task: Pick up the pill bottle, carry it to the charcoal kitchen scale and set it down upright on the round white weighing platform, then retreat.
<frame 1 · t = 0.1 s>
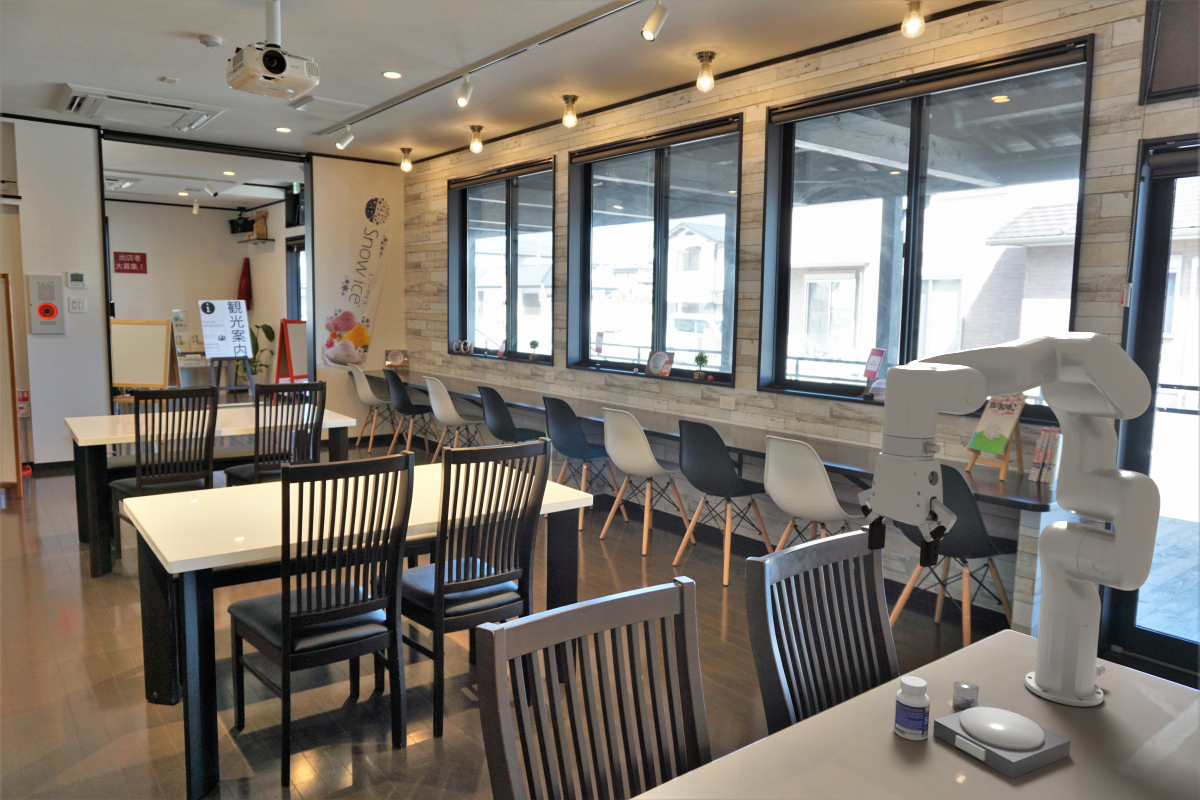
hand: (901, 557, 123), 31 cm above the table, fingers open, 9 cm apart
scale: (999, 744, 127), on the table
pill bottle: (910, 734, 131), on the table
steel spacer: (964, 707, 140), on the table
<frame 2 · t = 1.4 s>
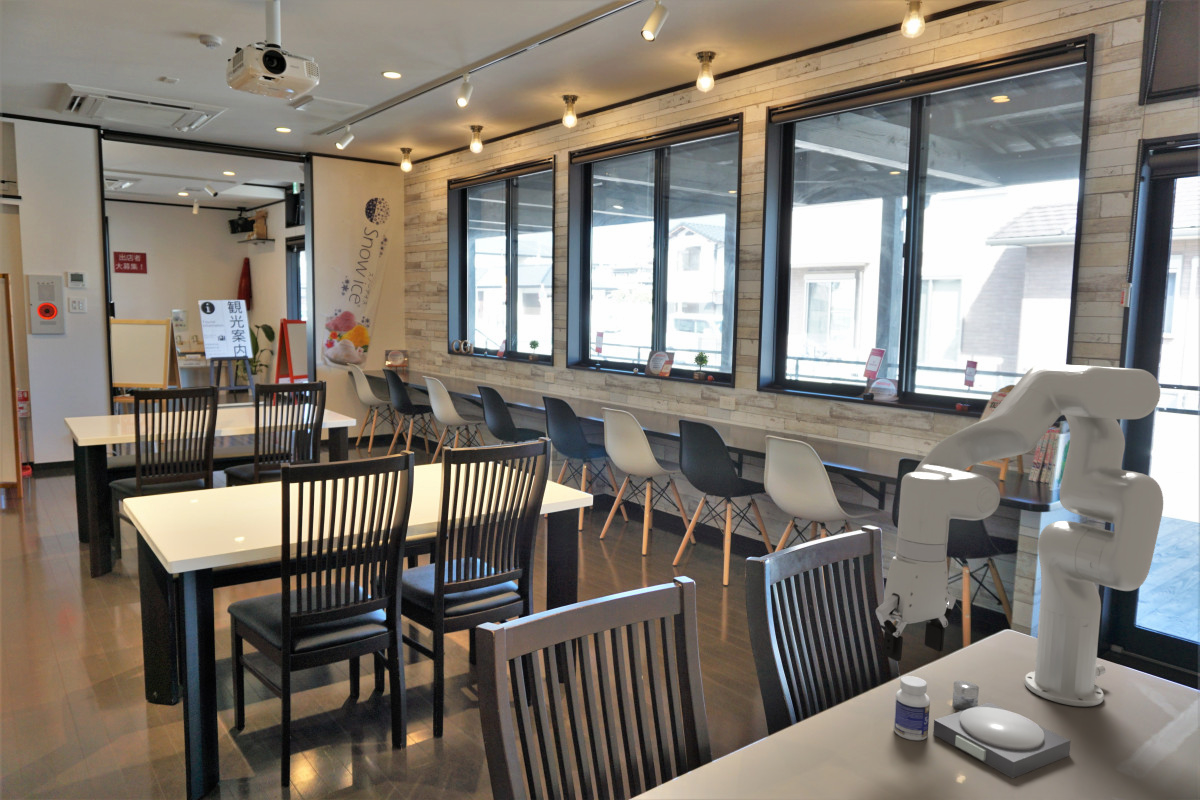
hand: (913, 653, 129), 14 cm above the table, fingers open, 9 cm apart
nothing on the table moved.
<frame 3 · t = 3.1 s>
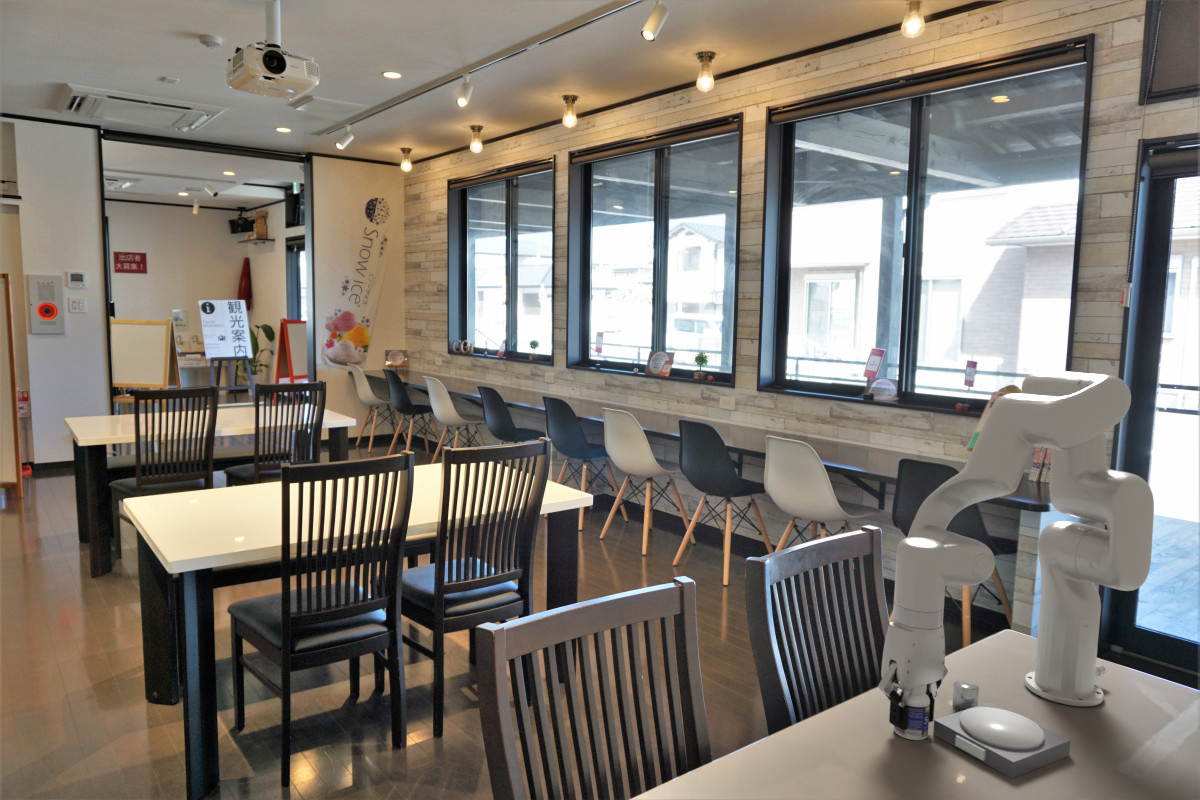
hand: (911, 721, 130), 2 cm above the table, fingers closed on pill bottle, 5 cm apart
pill bottle: (910, 734, 131), on the table, touching gripper
everything else where it was.
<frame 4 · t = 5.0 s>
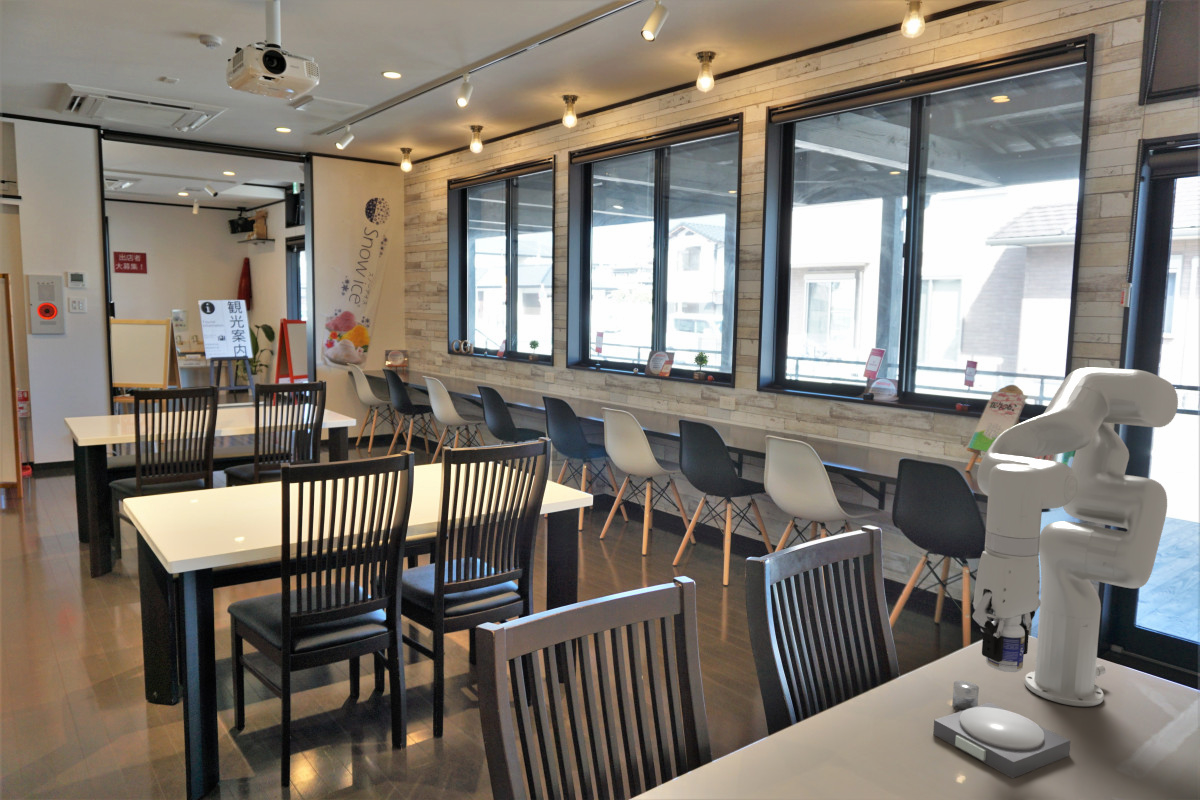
hand: (1004, 653, 126), 15 cm above the table, fingers closed on pill bottle, 5 cm apart
pill bottle: (1003, 666, 127), point 13 cm above the table, touching gripper
everything else where it was.
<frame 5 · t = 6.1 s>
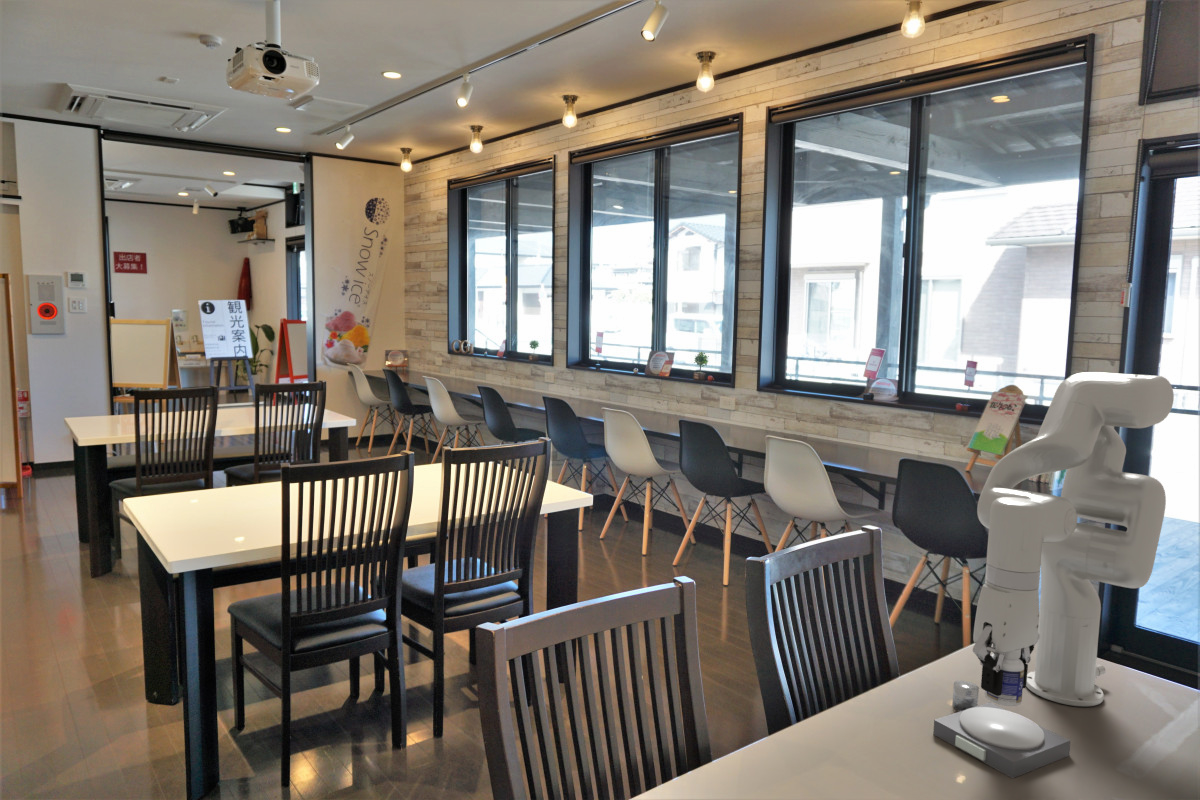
hand: (1003, 687, 126), 10 cm above the table, fingers closed on pill bottle, 5 cm apart
pill bottle: (1002, 700, 127), point 7 cm above the table, touching gripper
everything else where it was.
when the fingers open (6 cm above the table, at t = 7.1 s): pill bottle drops 1 cm, resting on scale.
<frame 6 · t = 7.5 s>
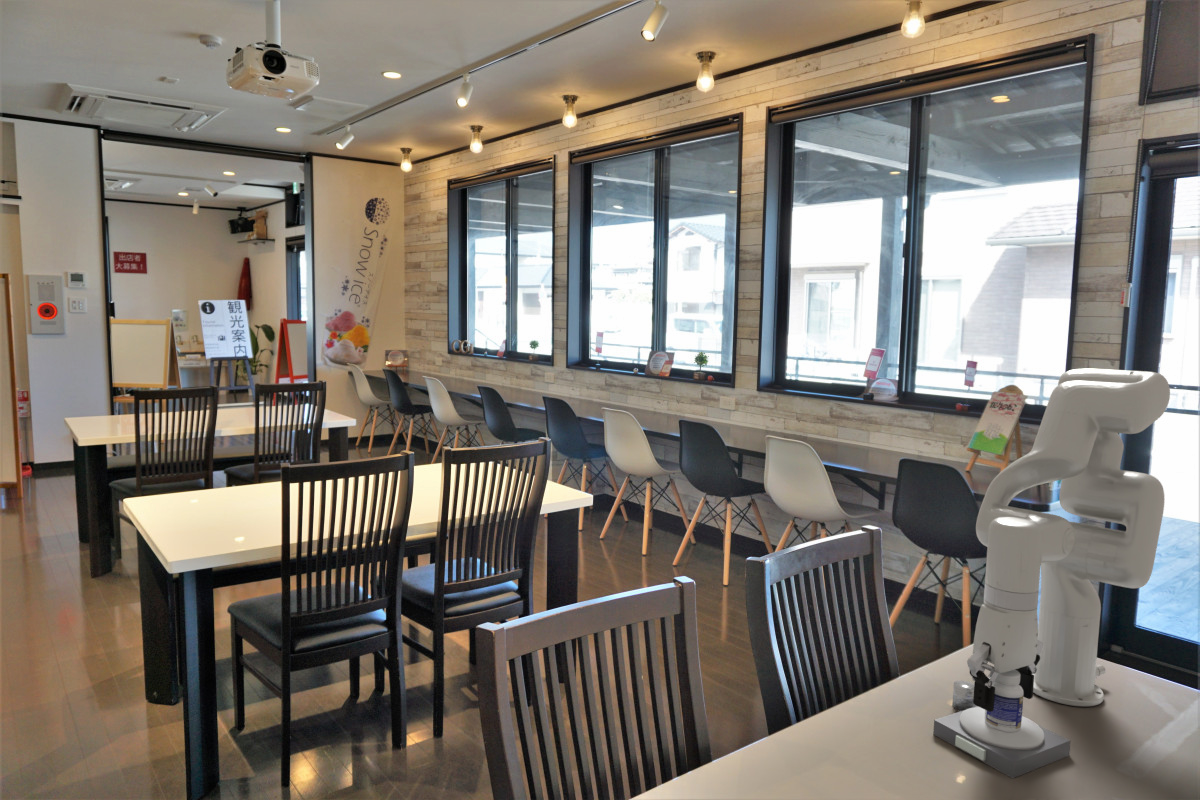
hand: (1002, 701, 127), 7 cm above the table, fingers open, 9 cm apart
pill bottle: (1002, 725, 127), point 3 cm above the table, touching scale
everything else where it was.
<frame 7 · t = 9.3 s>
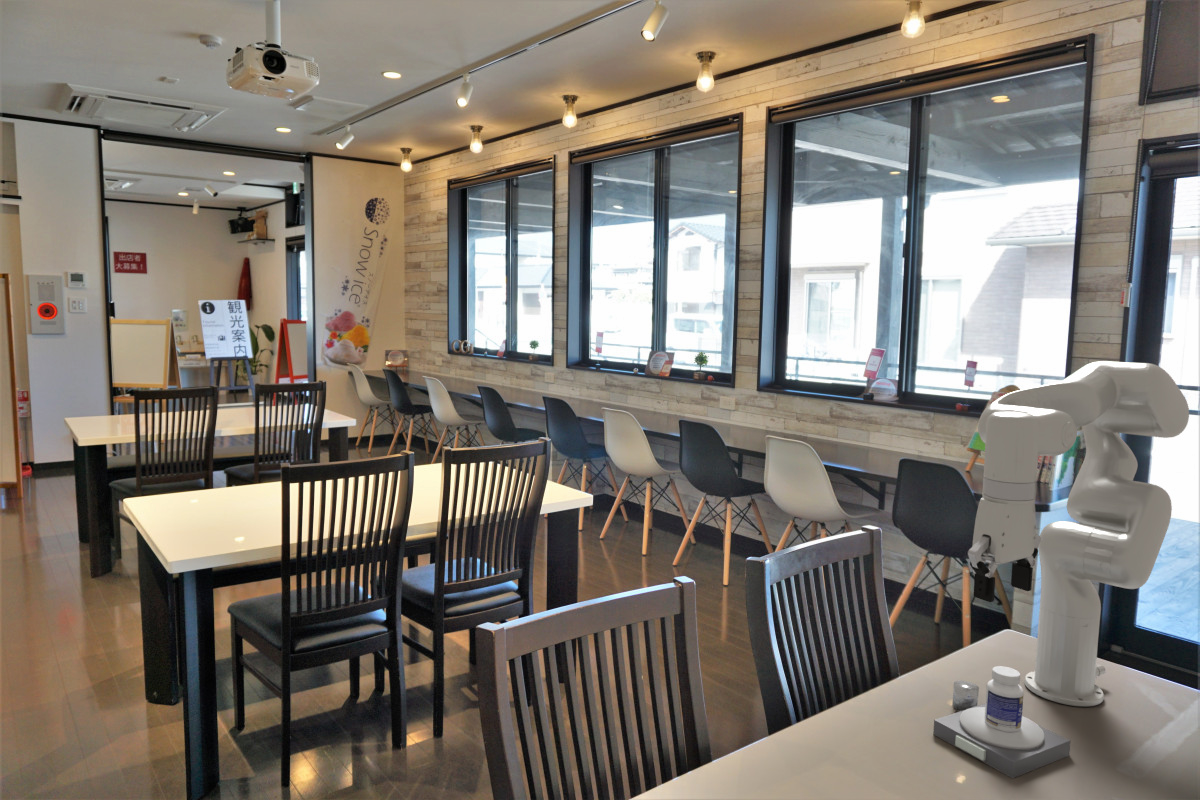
hand: (1002, 593, 128), 24 cm above the table, fingers open, 9 cm apart
nothing on the table moved.
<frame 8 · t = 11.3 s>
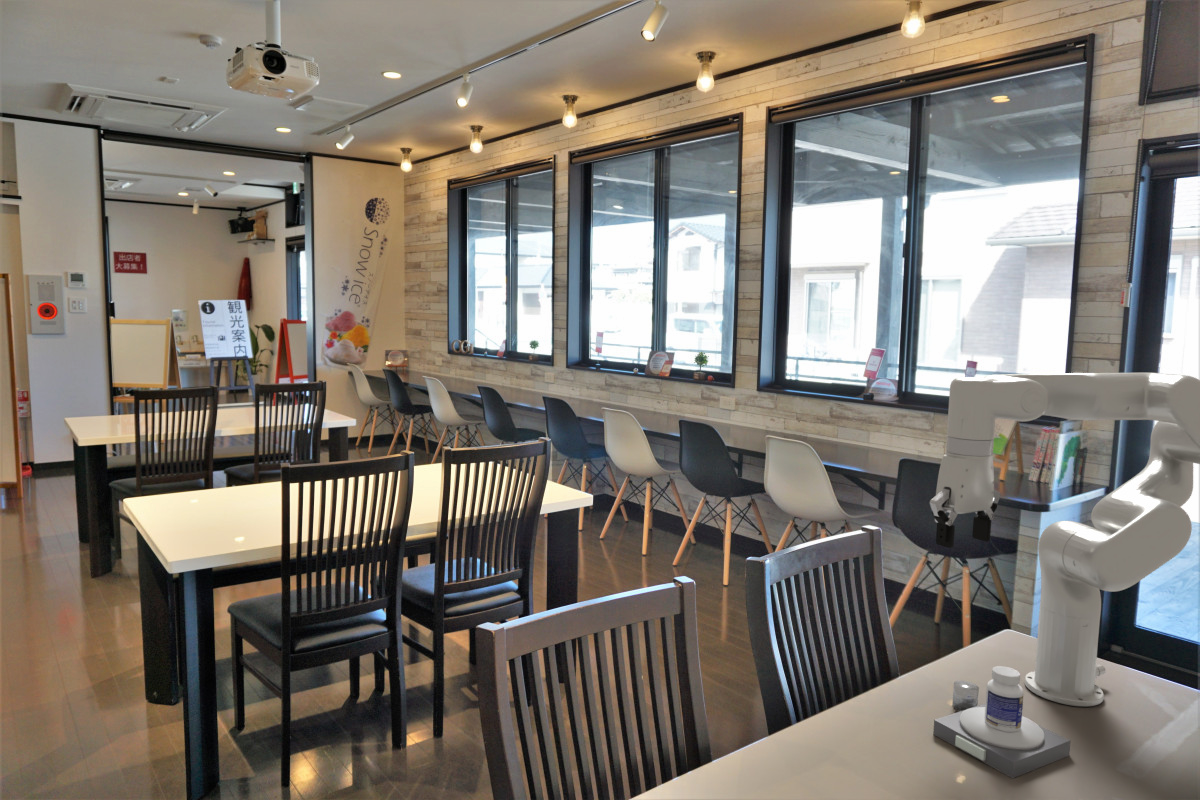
hand: (963, 542, 142), 28 cm above the table, fingers open, 9 cm apart
nothing on the table moved.
at the end: pill bottle inside the target area on the scale (0.3 cm from its centre), point 3.1 cm above the scale's base; pill bottle tilted 0°; the gripper is holding nothing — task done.
